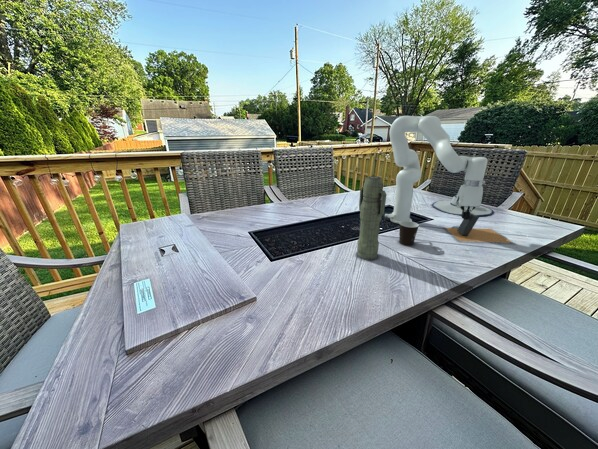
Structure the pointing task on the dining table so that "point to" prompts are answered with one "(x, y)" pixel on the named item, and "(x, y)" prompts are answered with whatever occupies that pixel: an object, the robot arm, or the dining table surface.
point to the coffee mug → (407, 232)
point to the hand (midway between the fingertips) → (464, 218)
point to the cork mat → (479, 235)
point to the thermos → (370, 216)
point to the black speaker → (467, 224)
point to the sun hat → (451, 208)
